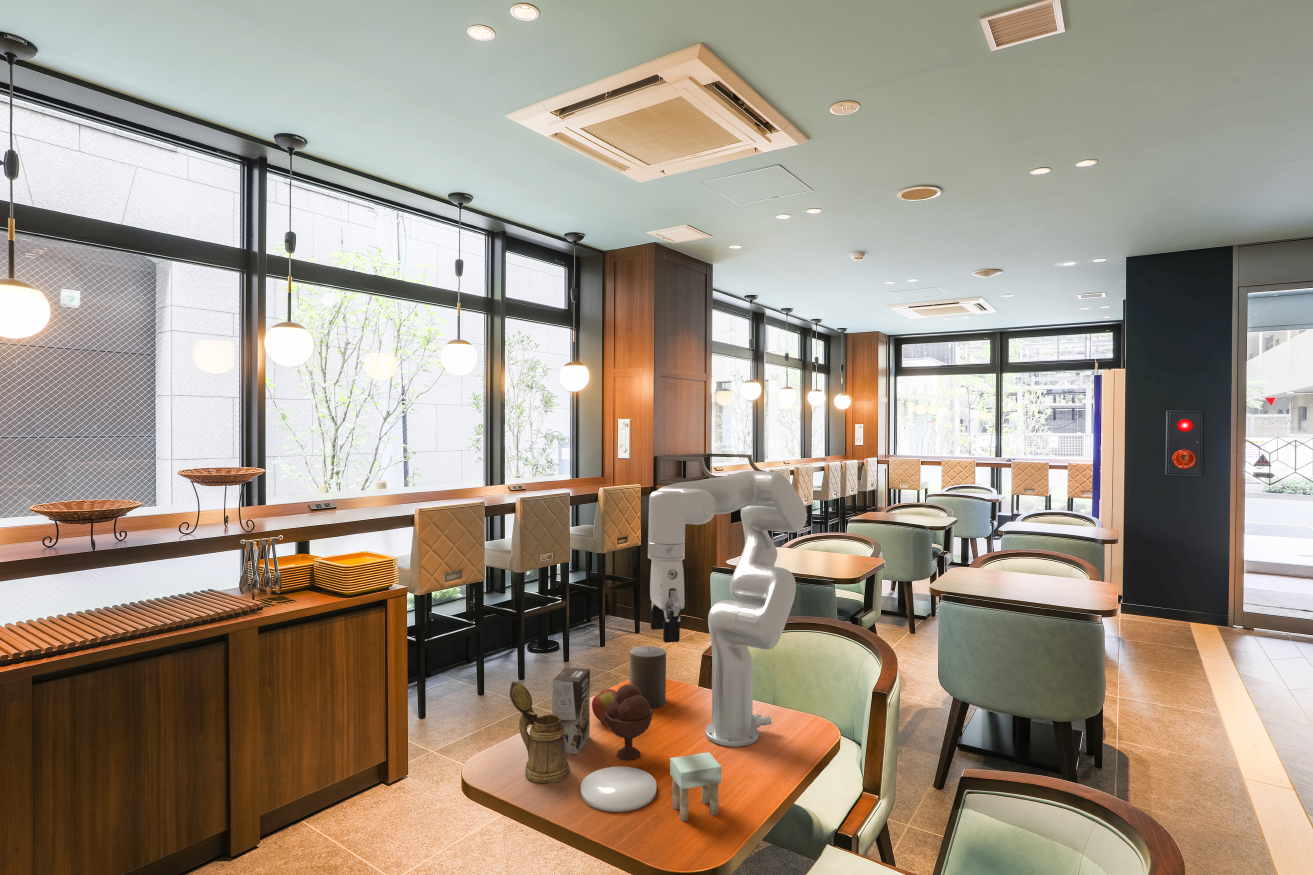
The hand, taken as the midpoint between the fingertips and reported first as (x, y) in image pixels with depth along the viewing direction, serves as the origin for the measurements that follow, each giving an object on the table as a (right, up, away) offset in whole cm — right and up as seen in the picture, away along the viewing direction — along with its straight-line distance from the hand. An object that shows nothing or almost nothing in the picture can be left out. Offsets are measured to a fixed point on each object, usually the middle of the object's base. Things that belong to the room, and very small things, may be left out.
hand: (664, 635), depth 137 cm
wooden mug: (-27, -30, +5) cm, 40 cm away
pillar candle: (-4, -30, +41) cm, 51 cm away
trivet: (-9, -30, -3) cm, 31 cm away
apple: (-13, -30, +29) cm, 44 cm away
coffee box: (-21, -30, +17) cm, 41 cm away
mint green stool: (+6, -30, -10) cm, 32 cm away
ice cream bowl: (-8, -30, +12) cm, 33 cm away
